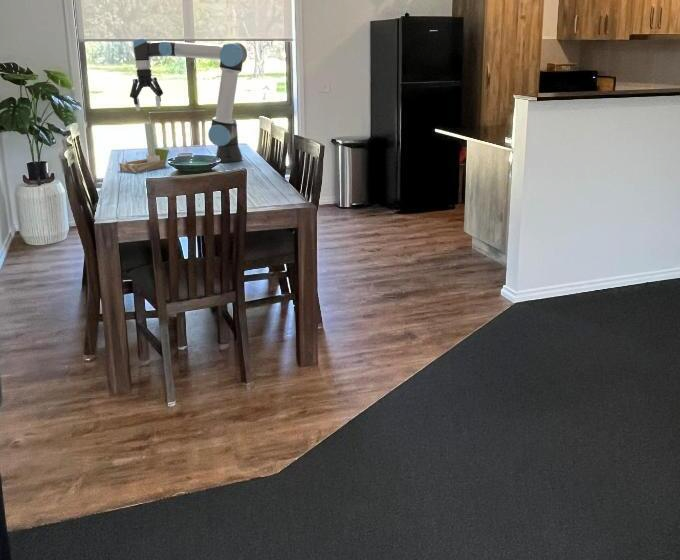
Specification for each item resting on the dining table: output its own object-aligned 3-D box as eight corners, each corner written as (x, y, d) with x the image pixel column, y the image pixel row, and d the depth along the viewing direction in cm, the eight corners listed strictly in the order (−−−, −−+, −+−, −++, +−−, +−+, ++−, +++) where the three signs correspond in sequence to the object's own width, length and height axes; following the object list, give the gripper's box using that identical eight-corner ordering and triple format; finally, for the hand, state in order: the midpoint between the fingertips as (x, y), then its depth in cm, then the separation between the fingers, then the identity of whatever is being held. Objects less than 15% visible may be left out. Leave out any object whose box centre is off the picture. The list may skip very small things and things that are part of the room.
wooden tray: (165, 167, 405) (164, 160, 403) (136, 172, 391) (135, 165, 390) (149, 165, 414) (148, 158, 413) (120, 170, 400) (119, 163, 399)
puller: (160, 166, 405) (155, 123, 397) (157, 167, 403) (152, 123, 396) (149, 165, 411) (143, 122, 404) (146, 165, 410) (140, 122, 403)
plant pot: (162, 165, 404) (163, 149, 403) (147, 163, 407) (148, 147, 405) (171, 166, 413) (172, 150, 411) (156, 163, 416) (158, 148, 414)
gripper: (158, 67, 404) (162, 107, 411) (119, 70, 386) (125, 111, 393) (166, 67, 400) (171, 107, 406) (128, 70, 382) (133, 112, 388)
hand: (148, 109), depth 400 cm, fingers open, 13 cm apart
